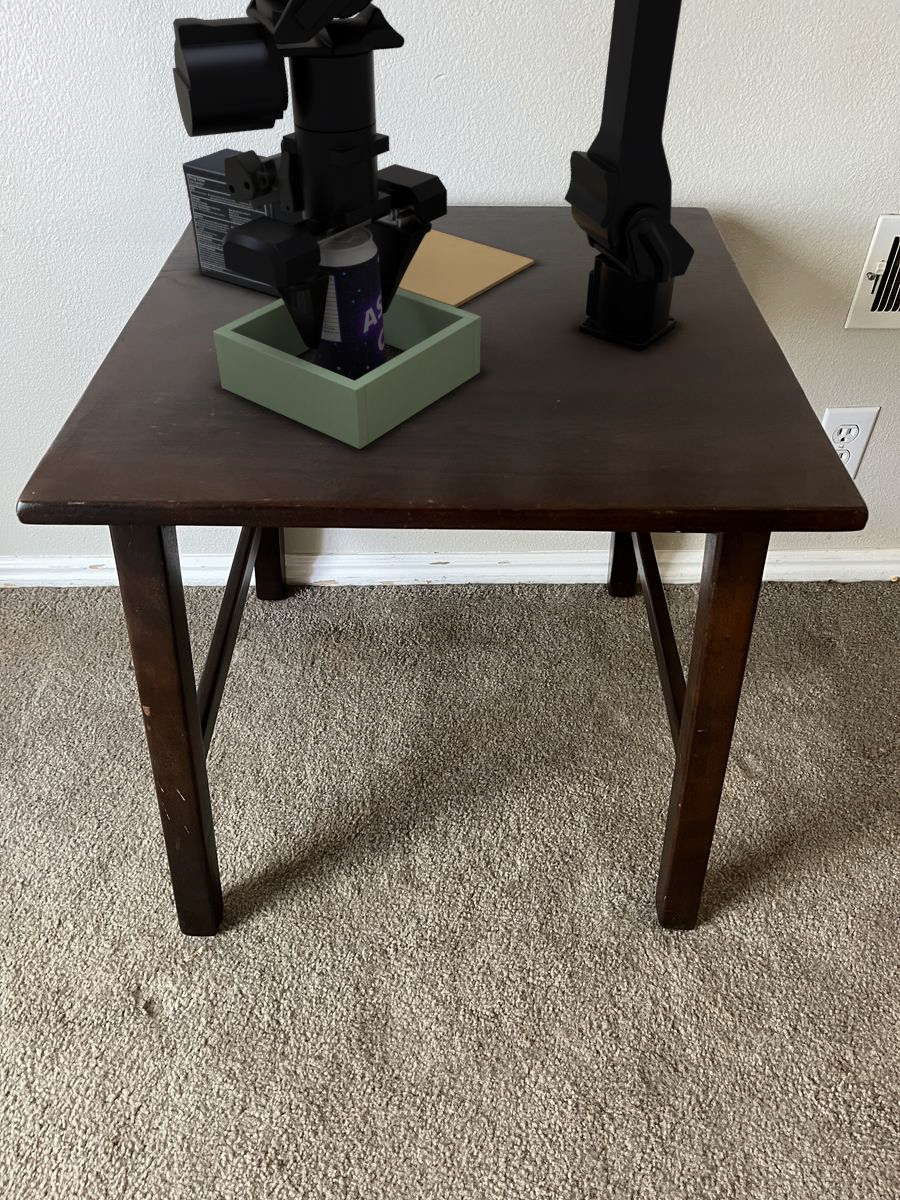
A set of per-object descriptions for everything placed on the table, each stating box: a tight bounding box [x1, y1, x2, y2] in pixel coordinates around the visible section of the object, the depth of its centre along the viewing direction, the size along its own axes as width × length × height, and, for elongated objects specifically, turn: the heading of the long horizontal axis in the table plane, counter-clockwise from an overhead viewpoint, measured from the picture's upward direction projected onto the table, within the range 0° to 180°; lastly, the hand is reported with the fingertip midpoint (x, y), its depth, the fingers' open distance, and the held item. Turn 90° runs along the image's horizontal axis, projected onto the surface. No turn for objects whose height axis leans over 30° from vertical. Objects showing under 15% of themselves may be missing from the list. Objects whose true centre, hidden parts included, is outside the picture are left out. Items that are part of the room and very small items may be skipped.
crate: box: [212, 288, 482, 450], centre depth 84 cm, size 15×15×5 cm
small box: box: [182, 147, 304, 298], centre depth 98 cm, size 11×6×10 cm, turn 58°
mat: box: [398, 229, 535, 308], centre depth 102 cm, size 13×13×1 cm
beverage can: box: [313, 227, 387, 381], centre depth 81 cm, size 6×6×12 cm
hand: (347, 329), depth 82 cm, fingers closed on beverage can, 8 cm apart
